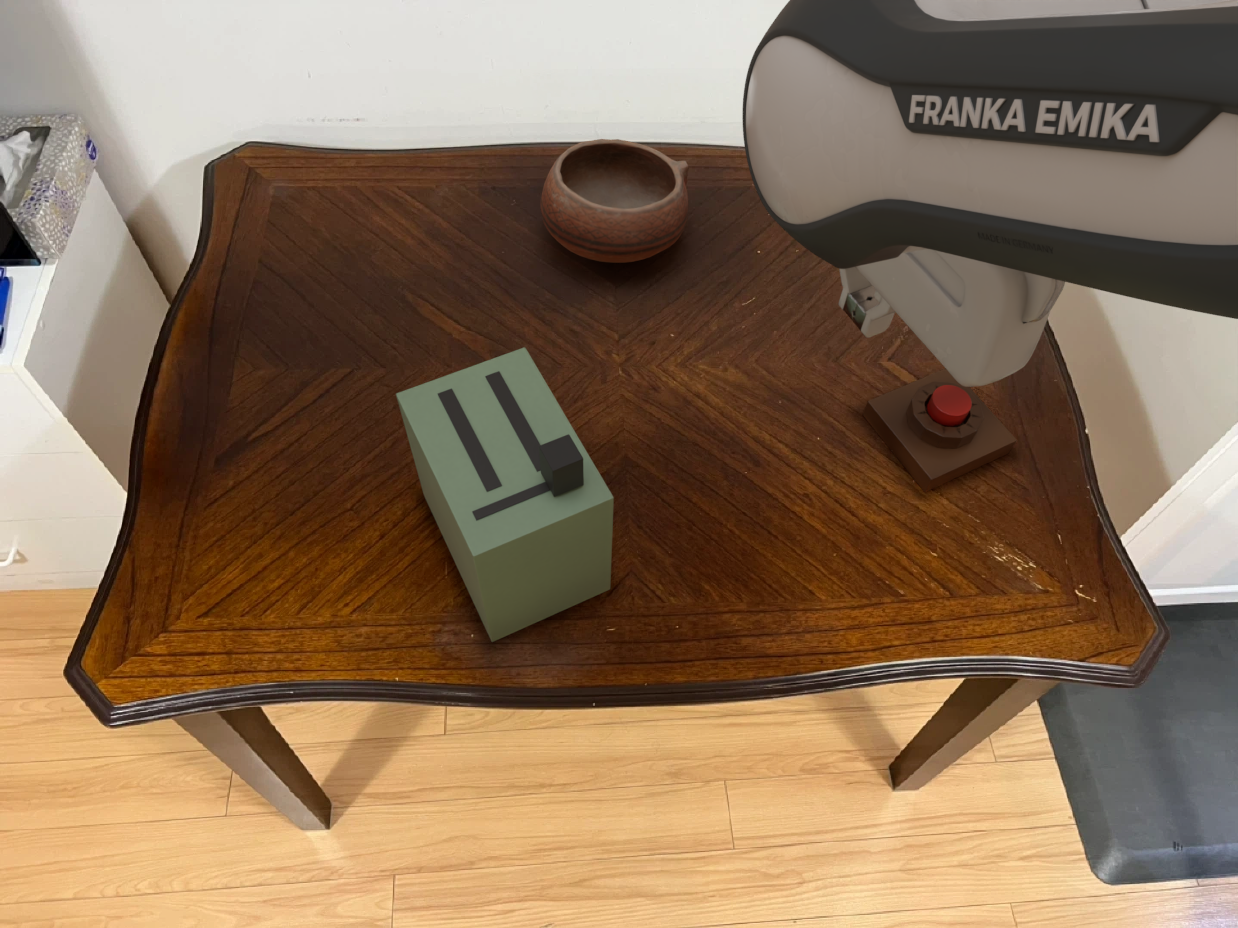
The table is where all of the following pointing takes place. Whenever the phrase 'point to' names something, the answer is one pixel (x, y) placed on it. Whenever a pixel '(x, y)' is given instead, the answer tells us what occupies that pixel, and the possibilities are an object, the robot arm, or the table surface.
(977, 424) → the control block
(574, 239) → the bowl
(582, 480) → the toaster slider
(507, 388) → the toaster
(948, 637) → the table surface
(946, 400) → the button
